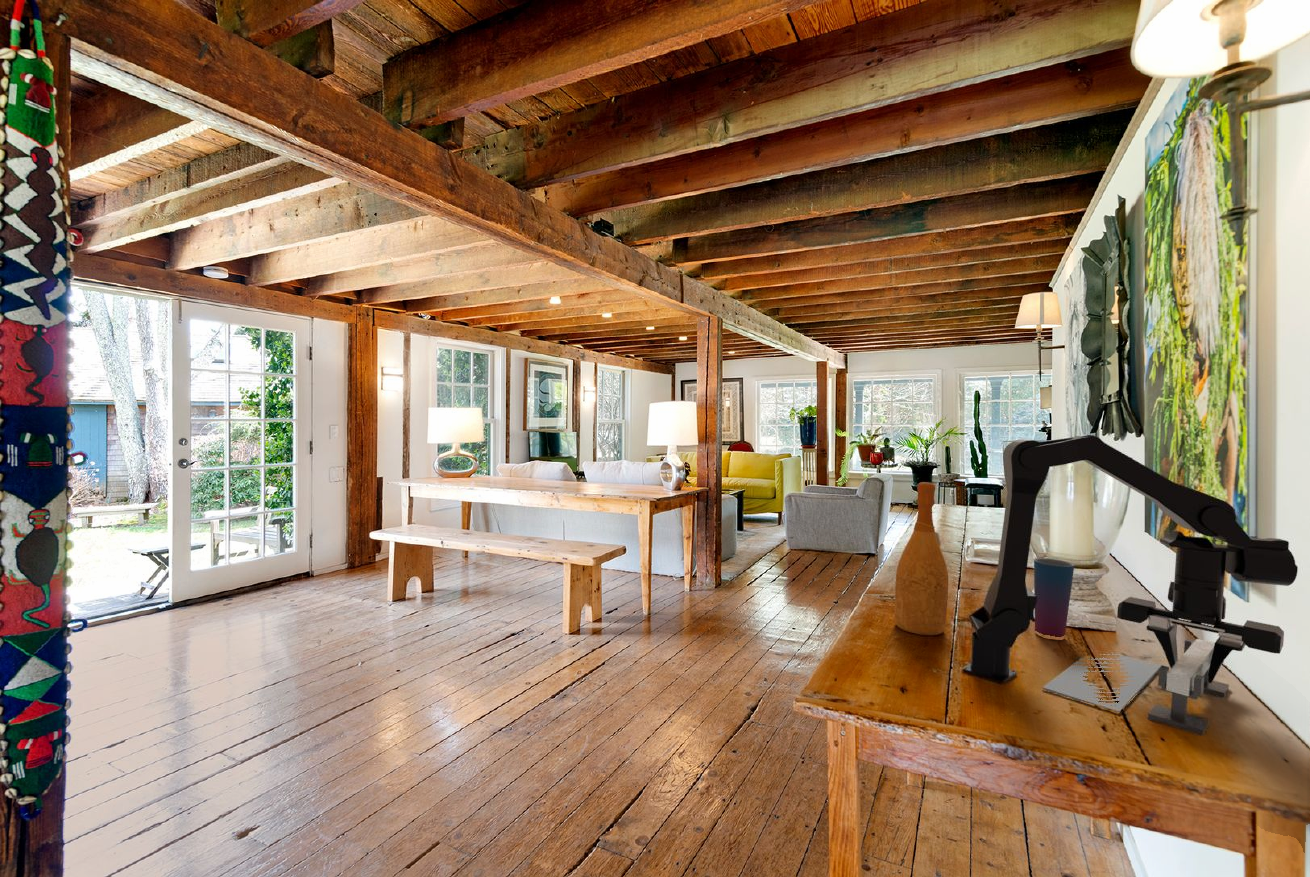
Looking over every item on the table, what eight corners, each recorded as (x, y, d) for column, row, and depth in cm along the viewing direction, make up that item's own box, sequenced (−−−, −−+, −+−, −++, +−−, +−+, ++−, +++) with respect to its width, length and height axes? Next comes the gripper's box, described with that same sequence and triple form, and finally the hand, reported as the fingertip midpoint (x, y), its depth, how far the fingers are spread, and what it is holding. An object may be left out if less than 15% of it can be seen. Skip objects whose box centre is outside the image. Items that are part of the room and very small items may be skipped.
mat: (1119, 714, 91) (1119, 711, 91) (1042, 690, 98) (1042, 687, 98) (1161, 668, 109) (1161, 665, 109) (1094, 650, 117) (1094, 648, 117)
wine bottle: (952, 639, 120) (960, 486, 119) (899, 635, 122) (906, 483, 121) (937, 623, 130) (944, 481, 129) (888, 619, 132) (895, 478, 130)
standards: (1202, 735, 85) (1205, 684, 85) (1147, 718, 90) (1151, 669, 90) (1228, 689, 101) (1231, 645, 101) (1181, 676, 106) (1183, 635, 105)
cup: (1076, 644, 120) (1080, 567, 119) (1037, 640, 121) (1042, 564, 121) (1060, 632, 127) (1065, 559, 126) (1024, 628, 128) (1028, 557, 127)
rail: (1188, 696, 87) (1190, 679, 87) (1166, 690, 89) (1167, 673, 89) (1215, 658, 102) (1216, 643, 102) (1195, 653, 104) (1196, 638, 104)
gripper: (1290, 583, 93) (1283, 685, 93) (1136, 558, 107) (1130, 647, 108) (1283, 595, 86) (1275, 706, 86) (1119, 567, 100) (1113, 662, 100)
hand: (1192, 677), depth 95 cm, fingers open, 4 cm apart
